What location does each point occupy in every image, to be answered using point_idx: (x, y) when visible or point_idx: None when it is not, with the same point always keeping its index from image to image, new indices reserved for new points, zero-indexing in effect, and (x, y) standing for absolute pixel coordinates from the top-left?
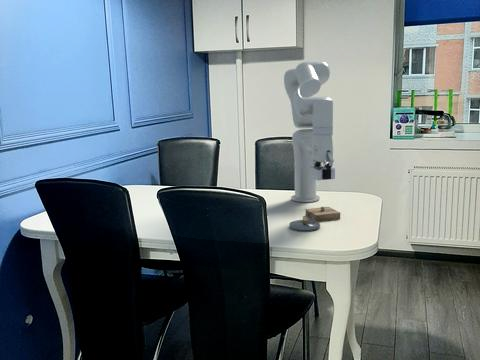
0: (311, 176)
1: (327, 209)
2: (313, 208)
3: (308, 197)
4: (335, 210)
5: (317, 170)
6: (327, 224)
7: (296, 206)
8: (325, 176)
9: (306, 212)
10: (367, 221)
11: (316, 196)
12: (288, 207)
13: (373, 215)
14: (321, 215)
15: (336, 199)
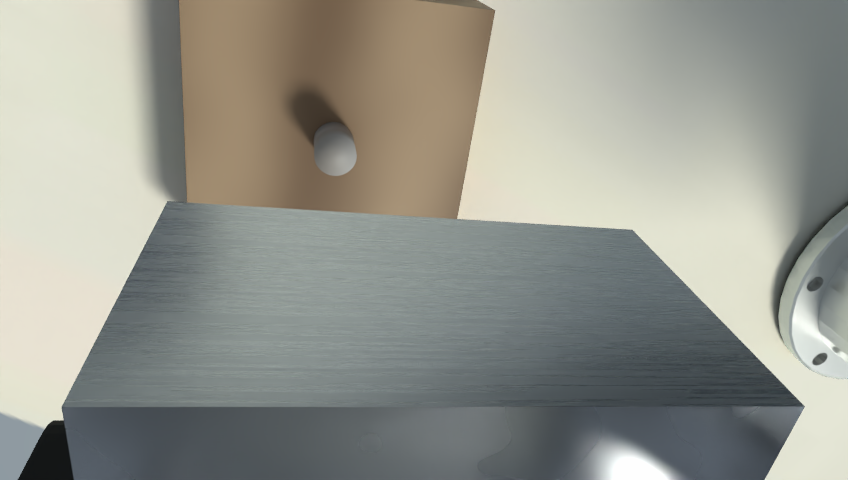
0: (575, 239)
1: (357, 208)
2: (468, 104)
3: (845, 282)
4: None
5: (128, 385)
6: (37, 10)
7: (788, 97)
8: None
9: (463, 2)
10: (36, 371)
11: (839, 359)
12: (820, 6)
13: None
14: (181, 38)
15: None
